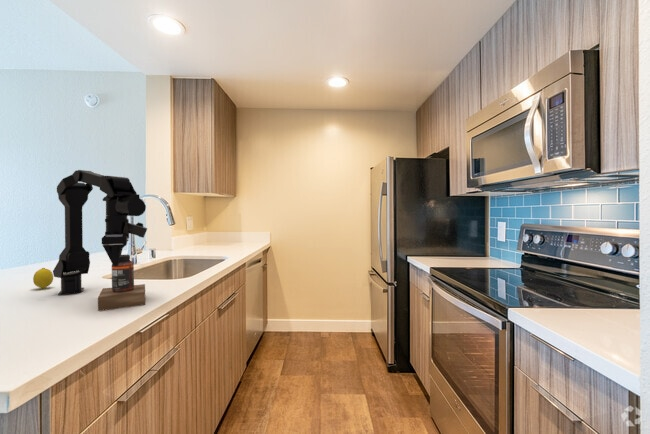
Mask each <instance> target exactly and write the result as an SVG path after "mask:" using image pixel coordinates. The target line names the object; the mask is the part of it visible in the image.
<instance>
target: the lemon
mask: <svg viewBox="0 0 650 434" xmlns="http://www.w3.org/2000/svg"><path fill="white" fill-rule="evenodd" d="M32 279H33V280H32V281H33V285H35V287H38V288H40V289H41V290H44V289H46V288H47V287H49V286H50V285H51V284H52V283H53V281H54V275H53V271H51V269H49V268H46V267H42V268H40V269H38V270H36V271H35V272H34V274H33V277H32Z"/></svg>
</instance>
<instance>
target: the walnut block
mask: <svg viewBox="0 0 650 434" xmlns="http://www.w3.org/2000/svg"><path fill="white" fill-rule="evenodd" d="M144 305H146V284H145V283H143V284H134V288H133V289H132V290H129V291H125V292H114V291H112V287H106V288H105V287H104V288H102V289H101V291H100V293H99V294H98V297H97V312H101V311H102V312H103V311H109V310H117V309H123V308H131V307H137V306H144Z"/></svg>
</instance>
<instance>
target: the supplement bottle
mask: <svg viewBox="0 0 650 434" xmlns="http://www.w3.org/2000/svg"><path fill="white" fill-rule="evenodd" d="M134 269H135V267H134V262H133V261H132V260H131V255H130V254H121V255H120V257H119V262H118V265H117V266H113V264H112V263H111V288H112V291H114V292H125V291H129V290H132V289H133V288H134V285H135V275H134V274H135V271H134Z"/></svg>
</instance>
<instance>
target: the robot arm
mask: <svg viewBox="0 0 650 434" xmlns="http://www.w3.org/2000/svg"><path fill="white" fill-rule="evenodd" d="M93 186H94V187H97V188H99V191H101V192H102V193H104V194H106V195H105V196H104V197H103V198H102V202H105V218H104V223H105V232H104V236H102V237H101V245H102V247H103V249H104V251H105V252H106V255H107V257H109V258H108V259H109V261H110V262H111V265H112V264H113V266H117V265H118V262H119V257H120V255H122V252H123V249H124V247H126V246H127V245H128V242H129V239H130V234H131V235H134V236H138V237H140V238H145V235H146V233H147V230H148V228H147V227H144V224H143V222H142V223H141V222H137V223H136V224H134V223H130V220H129V217H140V216H141V215H144V213H145V212H146V209H147V207H146V206H147V205H146V203H145V201H144V200H143V199H141V198H140V194H138V193H137V192H136V190H135V188H134V186H133V184H132V182H131V180H130V178H129V177H125V176H123V177H122V176H113V175H104V174H100V173H96V172H94V171H91V170H83V169H78V170H75V171H73V173H72V174H70V175H68V176H66V177H64V178H62V179H61V180H60V182H59V183H58V184H57V186H56V193H57V195H58V200H59V202H60V203H61V204H62V206H63V207H64V239H65V240H64V248H63V250H62V251H61V252H60V254H59V257H58V262H57V263H56V265H55V267H54V268H53V270H52V274H53V278H54V277H55V278H57V279H60V291H58V293H57V295H58V296H60V295H69V294H71V295H72V294H79V293H82V292H83V291H84V290H85V287H82V285H83V284H82V275H85V274H89V271H90V270H89V269H90V265H91V260H90V252H89V250H88V251H87V250H86V249H85V248H84V247H83V244H84V243H83V240H84V239H83V207H84V205H85V204H86V203H87V201H88V200H89V195H90V193H91V192H92V191H93V189H94V187H93Z"/></svg>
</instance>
